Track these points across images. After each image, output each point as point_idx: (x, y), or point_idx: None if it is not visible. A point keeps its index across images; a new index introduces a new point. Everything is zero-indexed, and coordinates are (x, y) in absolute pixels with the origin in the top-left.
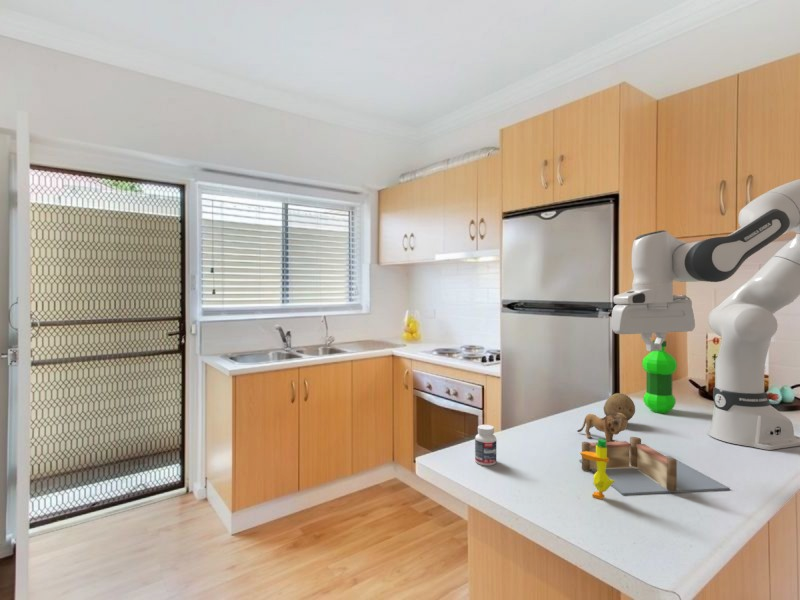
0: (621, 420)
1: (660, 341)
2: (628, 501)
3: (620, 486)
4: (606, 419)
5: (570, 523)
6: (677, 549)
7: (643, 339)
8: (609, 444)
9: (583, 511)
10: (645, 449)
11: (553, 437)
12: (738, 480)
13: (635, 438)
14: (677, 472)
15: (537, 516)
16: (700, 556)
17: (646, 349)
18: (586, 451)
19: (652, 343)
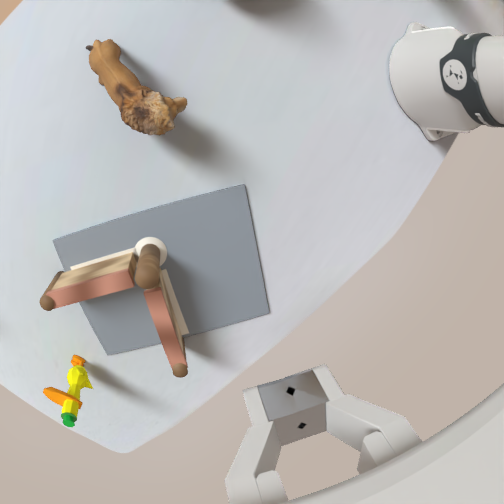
0: (156, 132)
1: (342, 440)
2: (113, 366)
3: (107, 337)
4: (122, 109)
5: (56, 406)
6: (143, 427)
7: (236, 463)
8: (89, 297)
9: (64, 389)
10: (153, 321)
11: (25, 98)
12: (304, 275)
13: (146, 277)
14: (217, 271)
15: (28, 397)
16: (159, 431)
17: (243, 392)
18: (50, 391)
19: (277, 453)
